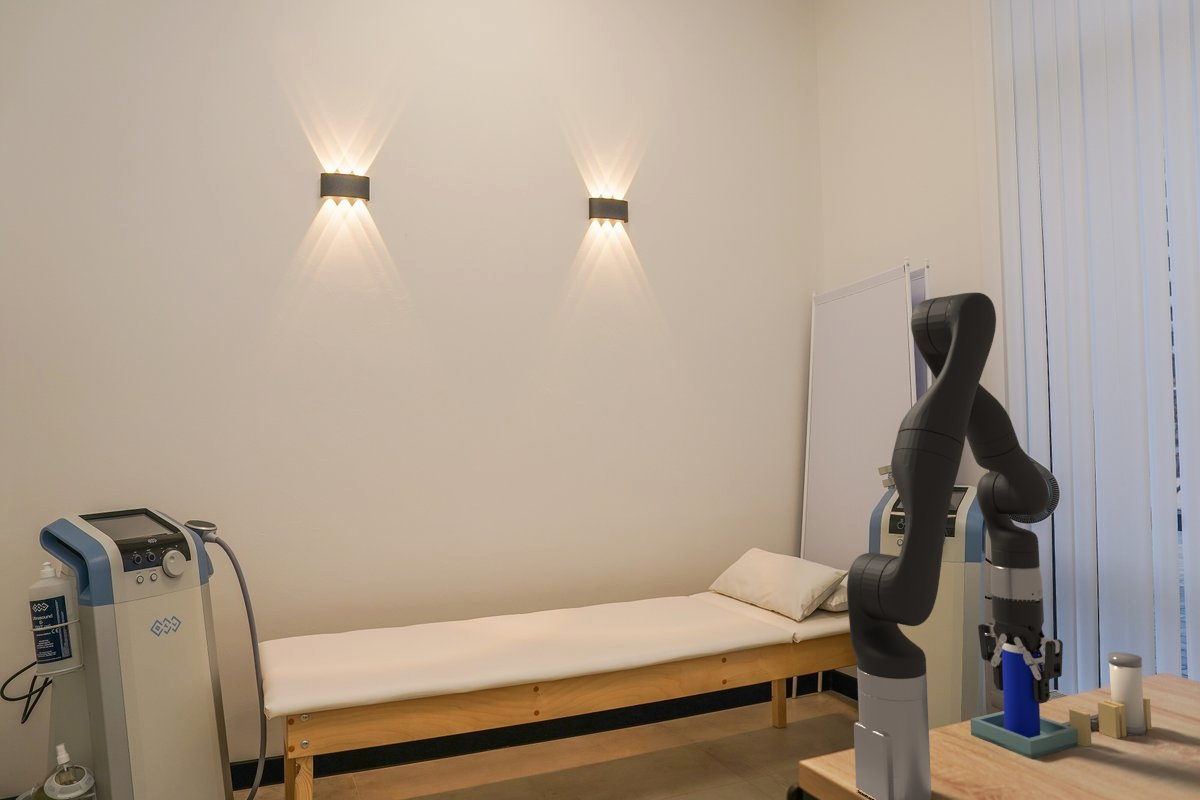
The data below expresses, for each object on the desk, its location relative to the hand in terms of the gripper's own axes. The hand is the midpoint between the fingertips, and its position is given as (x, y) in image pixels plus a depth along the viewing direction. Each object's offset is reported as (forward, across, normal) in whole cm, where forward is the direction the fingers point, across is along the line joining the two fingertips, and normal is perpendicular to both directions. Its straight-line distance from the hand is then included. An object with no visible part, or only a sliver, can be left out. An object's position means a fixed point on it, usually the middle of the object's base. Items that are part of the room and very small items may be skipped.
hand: (1021, 695), depth 128 cm
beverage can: (+7, 0, 0) cm, 7 cm away
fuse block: (+7, +4, +14) cm, 16 cm away
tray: (+7, 0, 0) cm, 7 cm away
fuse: (+7, +5, +19) cm, 21 cm away
